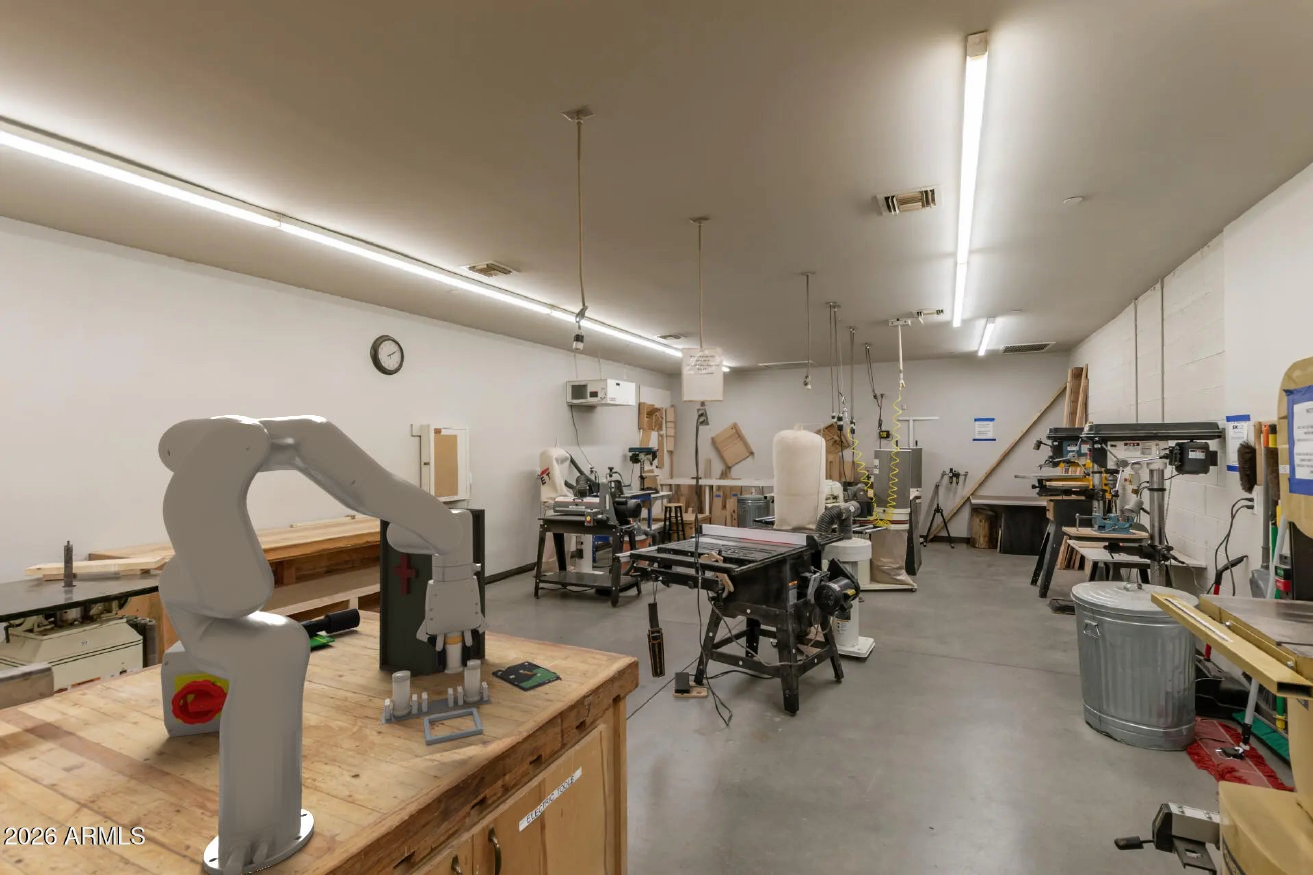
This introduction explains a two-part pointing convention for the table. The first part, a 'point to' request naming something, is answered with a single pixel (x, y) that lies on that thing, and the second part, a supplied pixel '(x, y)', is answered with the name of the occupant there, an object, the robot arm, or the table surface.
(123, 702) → the table surface
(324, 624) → the electronic board model
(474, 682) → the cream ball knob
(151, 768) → the table surface
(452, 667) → the cylinder
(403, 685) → the domed white capsule
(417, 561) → the first aid box
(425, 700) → the fuse holder
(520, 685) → the disk drive
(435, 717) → the tray
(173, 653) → the electrical switch box
